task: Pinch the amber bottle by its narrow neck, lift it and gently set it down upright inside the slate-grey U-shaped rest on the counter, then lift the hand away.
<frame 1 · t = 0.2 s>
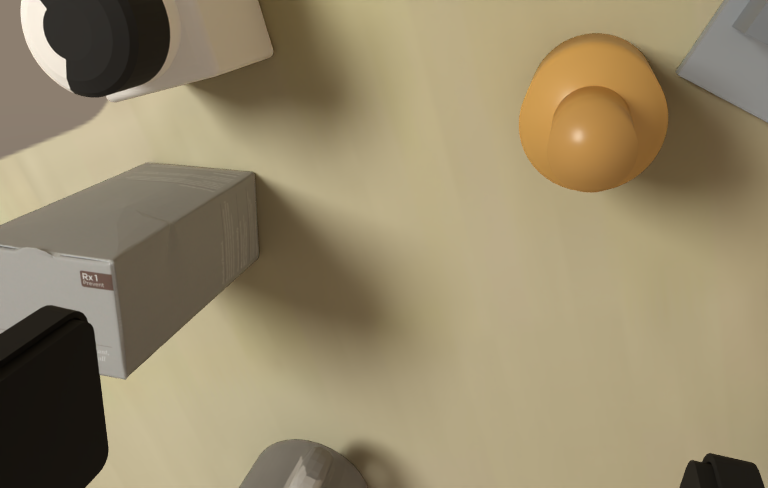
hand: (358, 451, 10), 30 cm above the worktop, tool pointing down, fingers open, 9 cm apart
amber bottle: (590, 95, 36), on the worktop
coffee mug: (322, 475, 52), on the worktop
medicine bottle: (208, 8, 40), on the worktop
skincare box: (208, 203, 45), on the worktop
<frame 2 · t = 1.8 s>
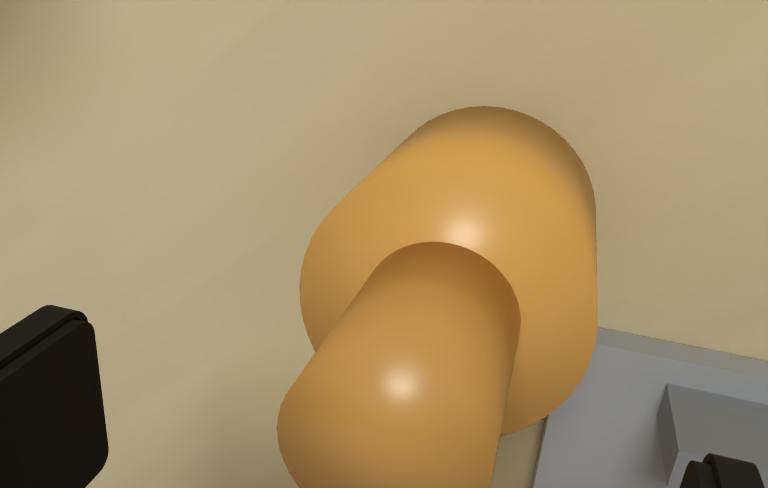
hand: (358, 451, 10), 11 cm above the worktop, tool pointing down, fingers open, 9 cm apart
amber bottle: (483, 213, 20), on the worktop
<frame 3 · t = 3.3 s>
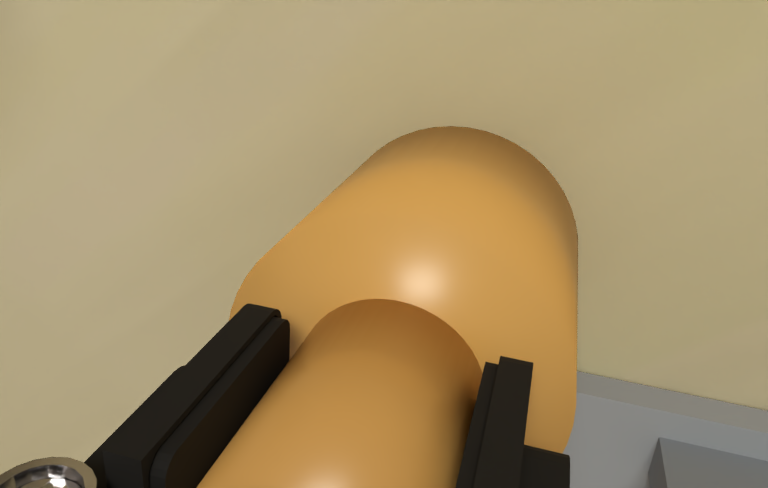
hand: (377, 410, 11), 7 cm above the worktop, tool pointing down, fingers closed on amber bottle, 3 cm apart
amber bottle: (452, 245, 18), on the worktop, touching gripper
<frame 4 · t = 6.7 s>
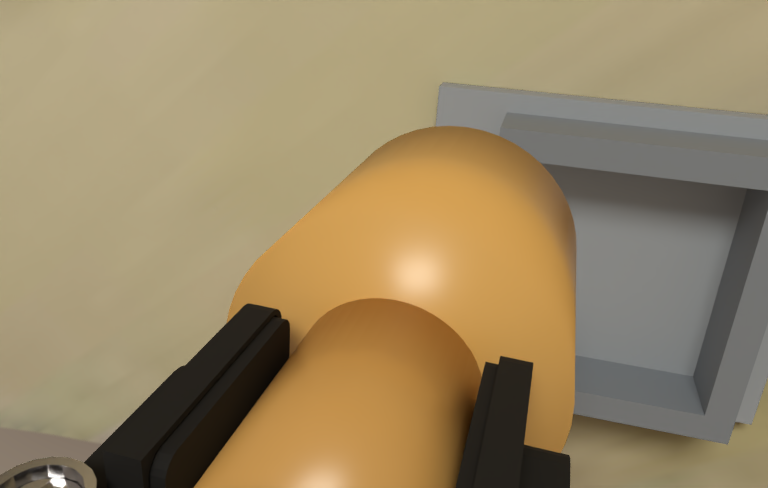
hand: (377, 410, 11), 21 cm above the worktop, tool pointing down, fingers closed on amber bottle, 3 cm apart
amber bottle: (451, 245, 18), point 14 cm above the worktop, touching gripper
u rest: (600, 253, 31), on the worktop
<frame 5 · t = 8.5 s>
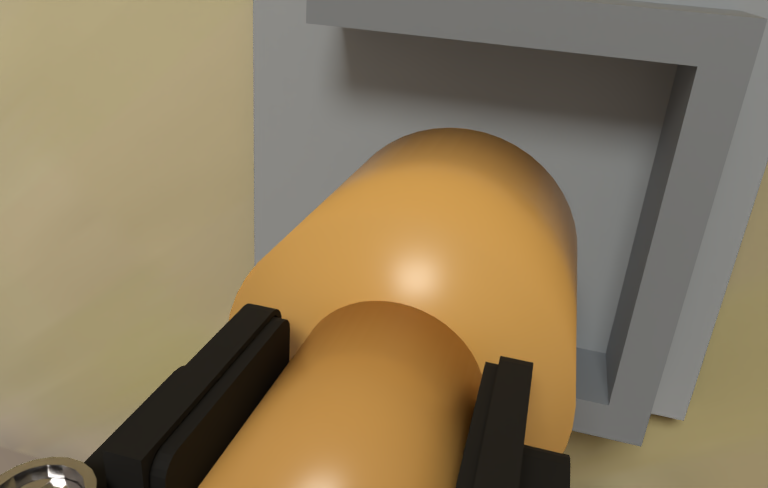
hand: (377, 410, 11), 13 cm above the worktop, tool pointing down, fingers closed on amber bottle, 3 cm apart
amber bottle: (452, 246, 18), point 6 cm above the worktop, touching gripper
u rest: (483, 182, 23), on the worktop
when the fingers open (9 cm above the worktop, at t = 9.9 s): amber bottle stays where it is, resting on u rest.
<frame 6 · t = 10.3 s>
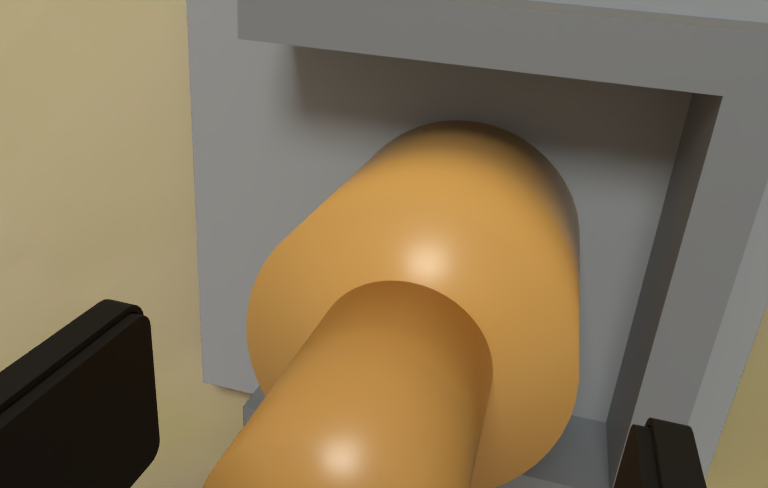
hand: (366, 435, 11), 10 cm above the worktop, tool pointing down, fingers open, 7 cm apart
amber bottle: (458, 235, 18), point 1 cm above the worktop, touching u rest
u rest: (462, 222, 19), on the worktop
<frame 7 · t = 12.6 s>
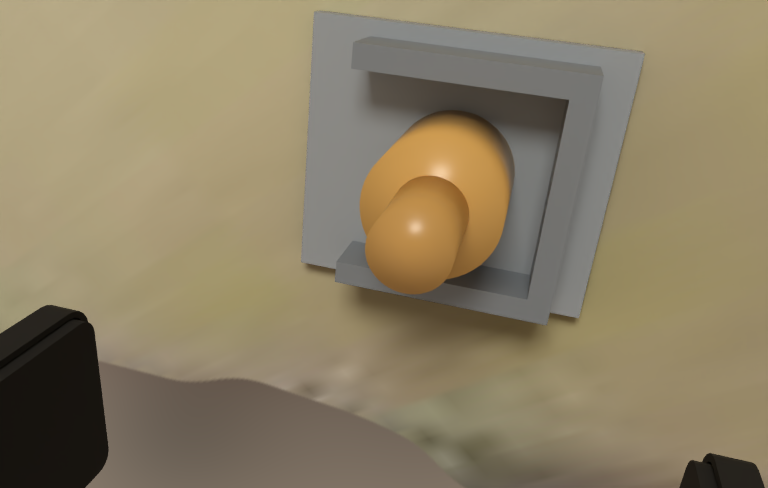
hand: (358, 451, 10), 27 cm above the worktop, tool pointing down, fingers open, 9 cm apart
amber bottle: (452, 171, 35), point 1 cm above the worktop, touching u rest
u rest: (454, 165, 36), on the worktop
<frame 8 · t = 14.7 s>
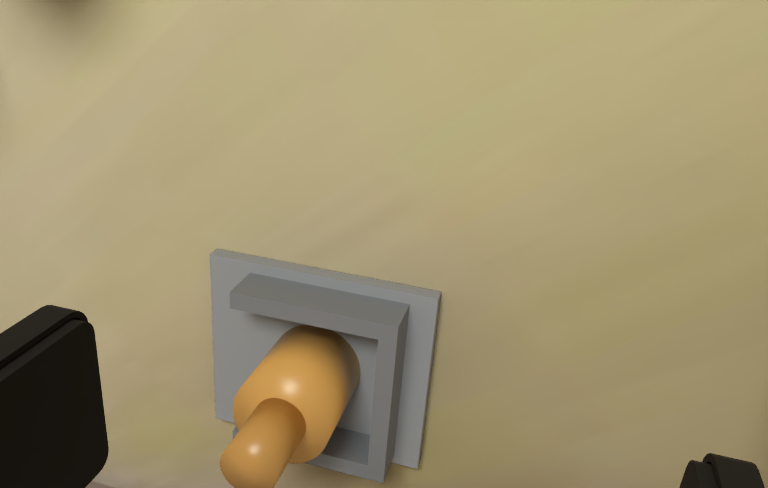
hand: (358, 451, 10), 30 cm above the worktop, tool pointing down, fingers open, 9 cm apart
amber bottle: (316, 364, 47), point 1 cm above the worktop, touching u rest
u rest: (321, 356, 48), on the worktop
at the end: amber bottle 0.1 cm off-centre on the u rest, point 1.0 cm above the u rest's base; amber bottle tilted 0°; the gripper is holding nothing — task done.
